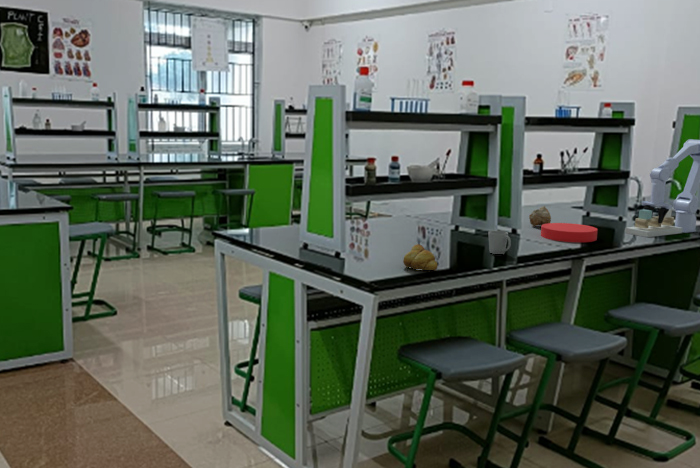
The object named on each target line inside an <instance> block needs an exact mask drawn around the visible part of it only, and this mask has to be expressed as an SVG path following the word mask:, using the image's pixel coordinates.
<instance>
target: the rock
mask: <svg viewBox="0 0 700 468" xmlns="http://www.w3.org/2000/svg"><path fill="white" fill-rule="evenodd" d="M528 217H529V223H530V225H532V226H533V227H538V226H542V225H543V224H548V223H552V221H551V220H552V216H551V214H550V212H549V210H548V209H547V207H546V206H541V207H540V208H539V209H534V210H533V211H532V212H531V213H530V214H529V216H528Z"/></svg>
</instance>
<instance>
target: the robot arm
mask: <svg viewBox="0 0 700 468" xmlns="http://www.w3.org/2000/svg"><path fill="white" fill-rule="evenodd" d="M688 156H690V157H691V158H692V160H693V161H692V165H691V168H690V171H689V173H688V176H687V179H686V183H685V184H684V185H685V186H684V188H683V191H681V193H679V194H677V196H676V199H674V200H673V204H669V203H665V201H664V200H665V192H666V191H665V190H666V181H667V180H668V179H669V178H670V175H671V174H672V173H673V171H675V170H676V169H677V168H678V167H679V165H680V164H679V163H680V162H681V161H683V160H684V159H685V158H687V157H688ZM649 176H650V180H651V191H650V192H651V193H650V201H646V200H642V201H641V206H643V210H651V211H652V217H654V216H653V215H654V210H655V208H657V212H658V213H657V216H658V223H662V222H663V219H664V217H665V215H666V213H667V212H668V211H669V209H672V210H674V212H675V219H674V226H675V227H681V228H683V229H682V233H685V234H686V233H693V232H697V230H696V226H697V215H696V214H695V213H696V212H697V211H698V207H699V201H700V200H699V198H698V196H697V195H696V193H697V190H698V189H699V184H700V139H692V138H689V139H687V140H686V141H685V142H684V143H683V147H681V149H680V150H679V151H677V152H676V153H675V155H674V156H673V157H667V158H666V159H665V160H664V161H663V162H662V163H661V164H660V165H659V166H658V167H655V168H653V169H652V170H651V171H650V173H649Z"/></svg>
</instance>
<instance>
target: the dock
mask: <svg viewBox="0 0 700 468" xmlns="http://www.w3.org/2000/svg"><path fill="white" fill-rule="evenodd" d="M624 229H625V230H624V233H625V234H628V235H634V236H639V237H643V238H644V237H645V238H651V237H659V236H661V237H662V236H668V235H678V234H683V232H682V229H683V228H681V227H675V225H673V226H667V225H661V227H653V226H649V227H648V228H646V229H643V228H638V227H635V226H630V227H625V228H624Z"/></svg>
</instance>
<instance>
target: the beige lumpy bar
mask: <svg viewBox="0 0 700 468" xmlns="http://www.w3.org/2000/svg"><path fill="white" fill-rule="evenodd" d="M661 225H667V226H674V225H675V216H671V217H668V218H664V219H663V222H662V223H658V215H657V216H652V219H648V220H645V219H639V217H637V218H635V221H634V227H638V228H643V229H646V228H648V227H649V226H653V227H661Z"/></svg>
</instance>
